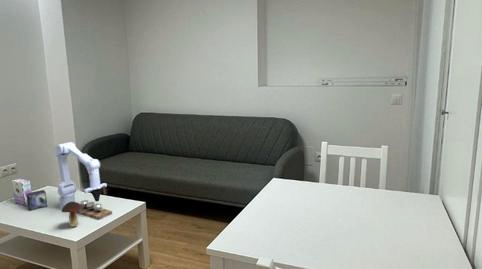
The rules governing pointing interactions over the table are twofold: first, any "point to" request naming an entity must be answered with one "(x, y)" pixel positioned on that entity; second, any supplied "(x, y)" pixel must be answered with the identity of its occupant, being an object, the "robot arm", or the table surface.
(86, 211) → the button panel
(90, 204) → the button middle
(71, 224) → the decorative mushroom
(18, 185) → the candy box
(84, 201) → the button
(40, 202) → the small box
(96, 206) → the button
